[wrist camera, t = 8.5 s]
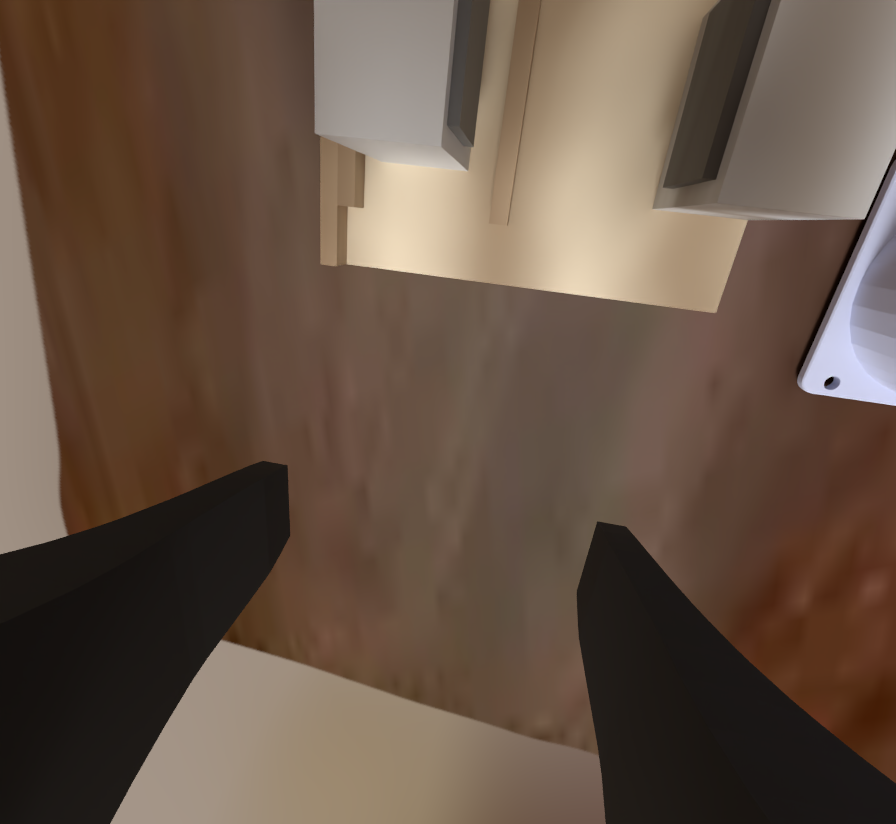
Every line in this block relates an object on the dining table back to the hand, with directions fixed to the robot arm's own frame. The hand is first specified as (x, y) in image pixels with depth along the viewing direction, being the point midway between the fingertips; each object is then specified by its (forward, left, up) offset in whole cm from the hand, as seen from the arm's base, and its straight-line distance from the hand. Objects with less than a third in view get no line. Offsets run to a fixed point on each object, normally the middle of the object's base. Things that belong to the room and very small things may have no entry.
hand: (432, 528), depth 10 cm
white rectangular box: (+3, -11, -9) cm, 14 cm away
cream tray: (-1, -10, -10) cm, 14 cm away
